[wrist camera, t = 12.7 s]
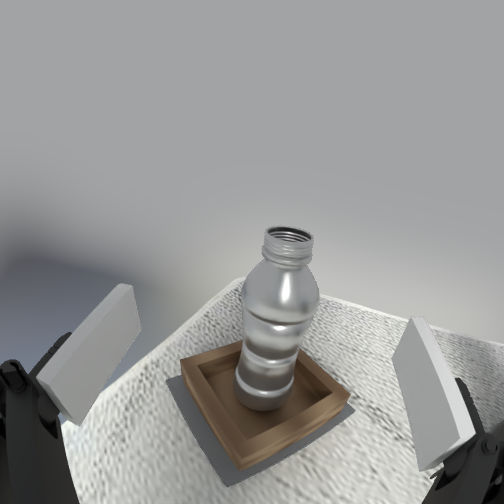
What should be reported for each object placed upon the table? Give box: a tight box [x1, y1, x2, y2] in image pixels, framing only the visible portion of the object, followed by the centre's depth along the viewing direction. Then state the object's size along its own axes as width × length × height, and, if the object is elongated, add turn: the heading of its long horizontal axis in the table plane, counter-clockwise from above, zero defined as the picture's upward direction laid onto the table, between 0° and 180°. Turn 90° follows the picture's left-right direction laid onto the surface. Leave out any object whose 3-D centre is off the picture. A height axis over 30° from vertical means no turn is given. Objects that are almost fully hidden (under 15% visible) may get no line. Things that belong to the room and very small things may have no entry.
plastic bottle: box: [232, 226, 319, 411], centre depth 25 cm, size 6×7×20 cm
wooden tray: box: [180, 340, 351, 471], centre depth 28 cm, size 14×14×4 cm
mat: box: [166, 375, 355, 487], centre depth 29 cm, size 18×16×1 cm
